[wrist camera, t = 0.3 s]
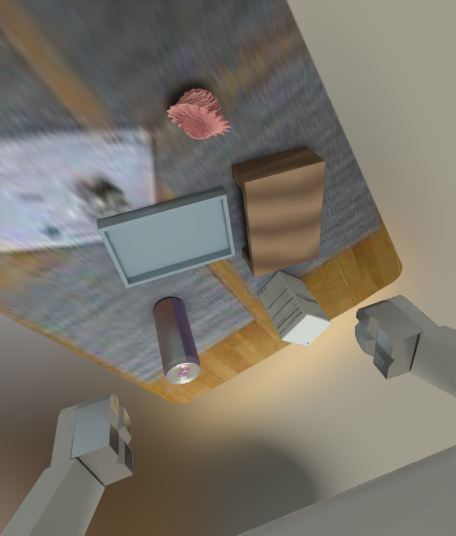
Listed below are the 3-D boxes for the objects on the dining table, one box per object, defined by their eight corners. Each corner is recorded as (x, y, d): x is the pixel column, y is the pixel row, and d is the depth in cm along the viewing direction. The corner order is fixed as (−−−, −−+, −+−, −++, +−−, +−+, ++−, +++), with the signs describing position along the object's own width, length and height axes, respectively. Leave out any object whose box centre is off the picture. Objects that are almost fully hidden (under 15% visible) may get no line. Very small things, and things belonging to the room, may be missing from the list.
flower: (212, 67, 35) (202, 119, 35) (247, 106, 42) (239, 149, 42) (158, 78, 39) (149, 124, 39) (198, 112, 46) (191, 151, 46)
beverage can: (186, 296, 63) (205, 360, 52) (180, 317, 66) (197, 383, 55) (155, 296, 61) (168, 364, 50) (150, 318, 64) (162, 386, 53)
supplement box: (302, 278, 70) (333, 323, 61) (280, 302, 73) (306, 348, 64) (278, 268, 66) (308, 314, 57) (256, 294, 69) (280, 341, 59)
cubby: (231, 165, 49) (244, 182, 44) (305, 146, 50) (325, 161, 46) (243, 256, 61) (254, 277, 57) (302, 238, 62) (318, 257, 58)
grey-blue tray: (97, 220, 48) (97, 229, 46) (221, 187, 51) (226, 194, 49) (125, 278, 56) (126, 288, 54) (230, 247, 59) (235, 255, 57)
